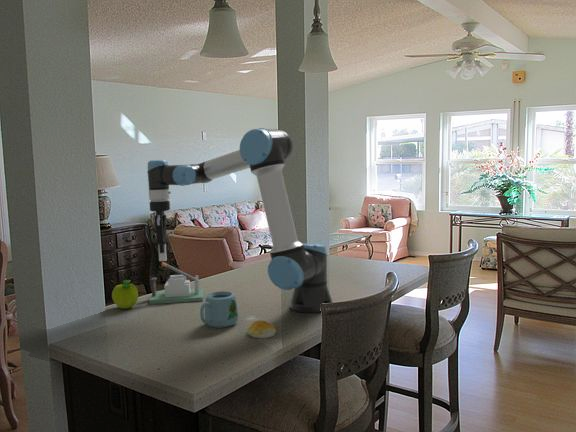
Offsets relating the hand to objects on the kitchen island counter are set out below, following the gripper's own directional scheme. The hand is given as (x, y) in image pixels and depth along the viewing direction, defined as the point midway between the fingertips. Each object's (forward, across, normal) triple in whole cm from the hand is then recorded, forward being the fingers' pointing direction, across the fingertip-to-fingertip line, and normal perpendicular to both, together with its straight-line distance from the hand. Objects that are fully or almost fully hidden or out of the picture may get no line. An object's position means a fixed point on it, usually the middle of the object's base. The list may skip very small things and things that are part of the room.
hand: (162, 260), depth 202 cm
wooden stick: (+5, 0, -6) cm, 8 cm away
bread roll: (+16, -47, -36) cm, 62 cm away
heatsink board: (+15, 0, -5) cm, 16 cm away
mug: (+15, -37, -22) cm, 46 cm away
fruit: (+15, -10, +13) cm, 22 cm away
